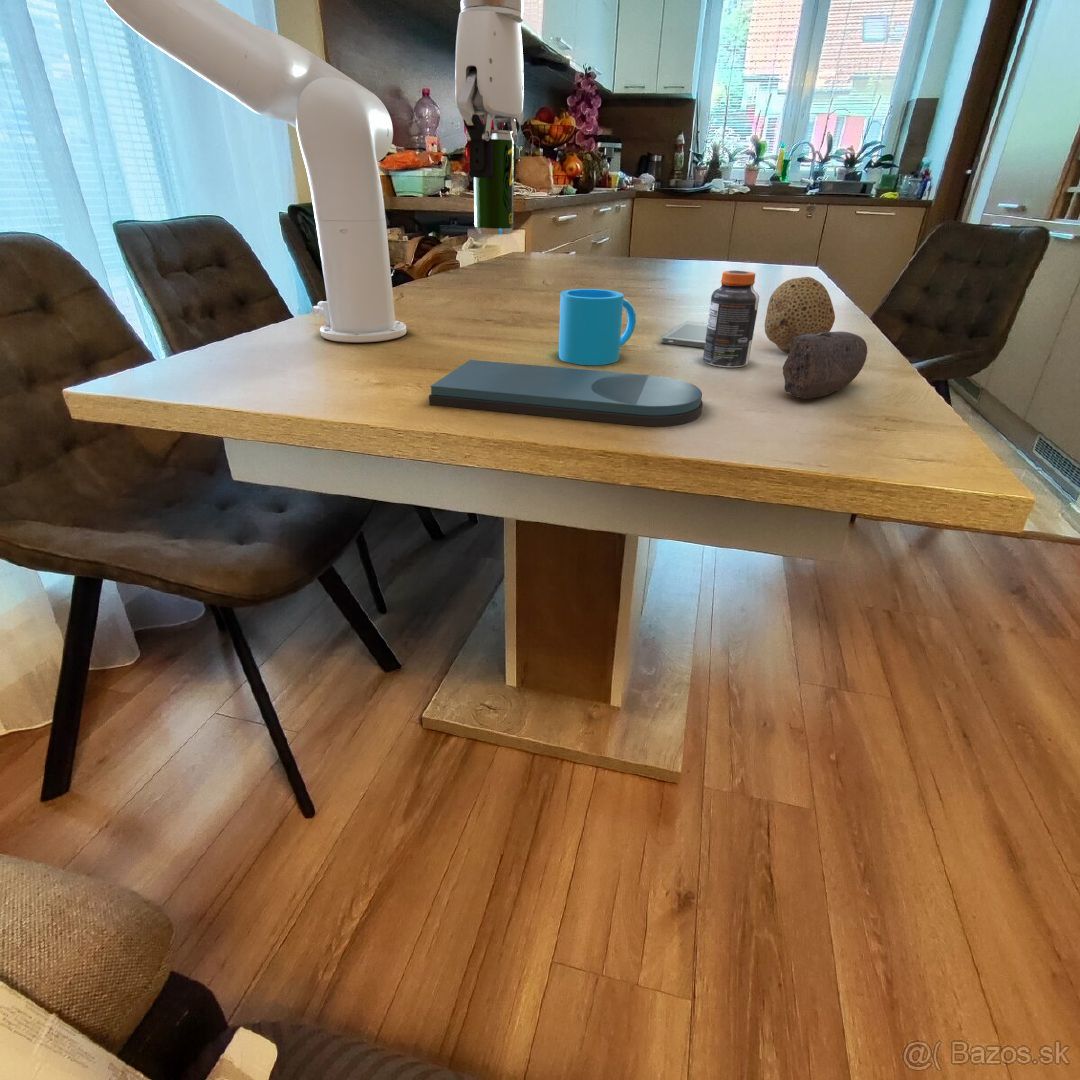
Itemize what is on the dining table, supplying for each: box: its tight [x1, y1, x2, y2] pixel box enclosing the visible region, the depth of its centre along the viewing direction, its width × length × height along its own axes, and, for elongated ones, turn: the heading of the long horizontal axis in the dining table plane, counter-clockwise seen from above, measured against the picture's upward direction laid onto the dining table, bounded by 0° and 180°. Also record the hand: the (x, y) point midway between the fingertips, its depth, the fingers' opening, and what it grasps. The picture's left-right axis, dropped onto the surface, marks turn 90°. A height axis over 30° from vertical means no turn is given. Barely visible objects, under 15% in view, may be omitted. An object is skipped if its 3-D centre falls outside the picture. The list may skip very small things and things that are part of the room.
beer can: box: [473, 129, 514, 235], centre depth 86 cm, size 5×5×12 cm
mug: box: [558, 288, 637, 366], centre depth 85 cm, size 12×8×8 cm
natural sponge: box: [764, 276, 836, 353], centre depth 88 cm, size 9×9×10 cm
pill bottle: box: [702, 270, 760, 368], centre depth 82 cm, size 6×6×11 cm
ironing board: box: [428, 359, 704, 427], centre depth 69 cm, size 28×12×2 cm, turn 75°
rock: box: [782, 331, 868, 399], centre depth 72 cm, size 15×5×7 cm, turn 127°
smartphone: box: [661, 320, 708, 349], centre depth 98 cm, size 15×8×1 cm, turn 154°
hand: (493, 176), depth 85 cm, fingers closed on beer can, 5 cm apart
